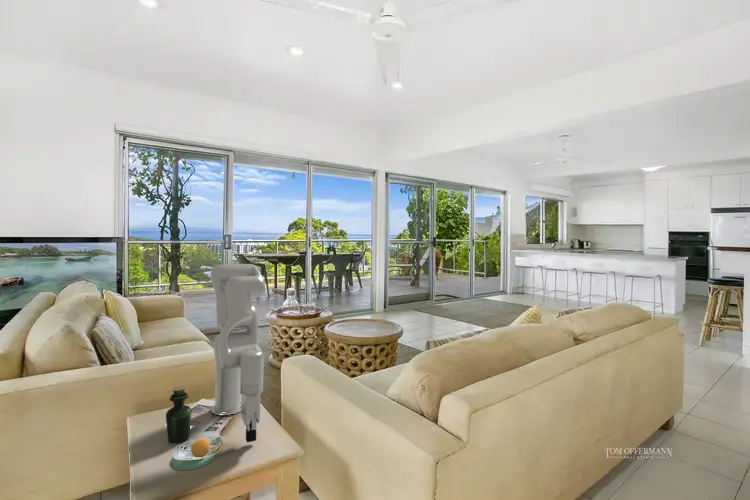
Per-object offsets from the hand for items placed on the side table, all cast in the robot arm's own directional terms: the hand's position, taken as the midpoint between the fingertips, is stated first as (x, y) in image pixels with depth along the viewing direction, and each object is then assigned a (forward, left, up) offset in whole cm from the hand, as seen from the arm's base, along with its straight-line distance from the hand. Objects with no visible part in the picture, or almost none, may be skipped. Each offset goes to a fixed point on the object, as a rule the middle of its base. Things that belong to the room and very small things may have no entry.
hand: (251, 440), depth 134 cm
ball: (+1, -16, +1) cm, 16 cm away
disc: (+1, -18, -2) cm, 18 cm away
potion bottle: (-14, -22, -2) cm, 26 cm away
